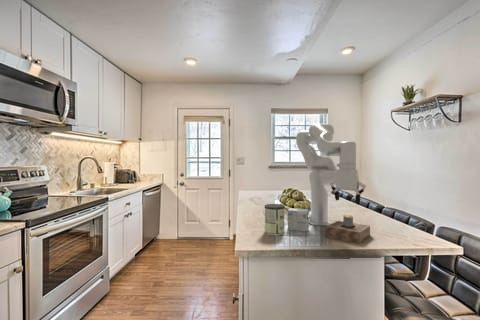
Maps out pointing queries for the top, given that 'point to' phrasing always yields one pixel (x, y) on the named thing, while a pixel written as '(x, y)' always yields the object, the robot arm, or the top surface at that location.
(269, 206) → the coffee can
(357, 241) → the socket
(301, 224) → the light bulb box
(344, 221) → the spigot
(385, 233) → the top surface
